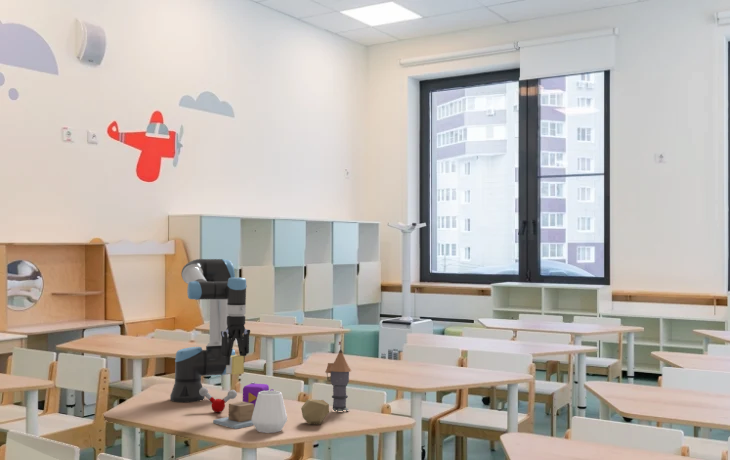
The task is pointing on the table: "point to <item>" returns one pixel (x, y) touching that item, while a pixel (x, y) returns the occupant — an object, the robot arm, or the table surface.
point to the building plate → (232, 423)
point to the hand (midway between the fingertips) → (234, 372)
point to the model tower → (338, 380)
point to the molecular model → (217, 404)
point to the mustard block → (237, 364)
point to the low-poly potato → (314, 411)
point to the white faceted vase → (269, 412)
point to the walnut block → (240, 411)
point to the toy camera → (253, 392)
